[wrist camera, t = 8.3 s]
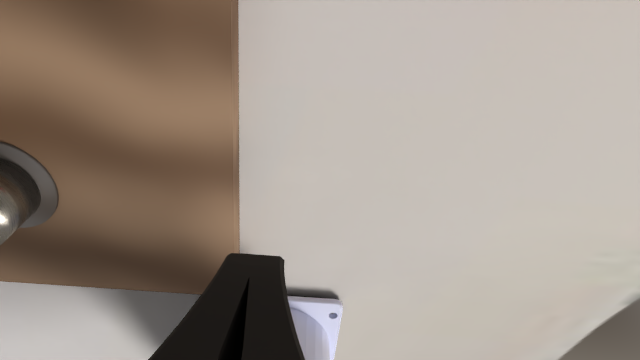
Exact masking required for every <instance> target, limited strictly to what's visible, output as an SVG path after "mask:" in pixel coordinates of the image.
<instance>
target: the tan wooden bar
mask: <svg viewBox="0 0 640 360" xmlns="http://www.w3.org/2000/svg"><path fill="white" fill-rule="evenodd" d="M40 203H41V195H40V191H39V188H38V186H37V184H36V183H35V181H34V180H33V179H32V177H31V176H30V175H29V174H28V173H27V172H26V171H24V170H23V169H22V168H20V167H19V166H17V165H16V164H14V163H12V162H10V161H7V160H5V159H2V158H0V245H1V244H2V243H4V242H5V241H6V240H7V239H8V238H9V237H10V236H11V235H12V234H13V233H14V232H15V231H16V230H17V229H18V228H19V227H20V226H21V225H22V224H23V223H24V222H25V221H26V220H28V219H29V218H30V217H31V216H32V215H33V214H34V213H35V212H36V211H37V209H38V208H39V206H40Z"/></svg>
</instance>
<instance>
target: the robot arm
mask: <svg viewBox="0 0 640 360" xmlns="http://www.w3.org/2000/svg"><path fill="white" fill-rule="evenodd" d="M342 311H343V306H342V302H341V301H339V300H337V299H327V298H312V297H297V296H287V291H286V285H285V277H284V260H283V259H282V258H281V257H280V256H267V255H253V254H239V253H230V254H229V255H227V256H226V258H225V260H224V261H223V263H222V265H221V266H220V268H219V270H218V271H217V273H216V274H215V276H214V277H213V279H212V280H211V282H210V283H209V285H208V286H207V288H206V289H205V290H204V292H203V293H202V295H201V296H200V297H199V299H198V300H197V301H196V303H195V304H194V305H193V307H192V308H191V309H190V311H189V312H188V313H187V314H186V316H185V317H184V318H183V320H182V321H181V322H180V323H179V325H178V326H177V327H176V328H175V329H174V330H173V332H172V333H171V334H170V335H169V336H168V338H167V339H166V340H165V341H164V342H163V343H162V345H161V346H160V347H159V348H158V349H157V351H156V352H155V353H154V354H153V355H152V356H151V357H150V358H149V359H148V360H334V356H335V350H336V345H337V339H338V334H339V328H340V322H341V317H342ZM332 313H334V314H332Z"/></svg>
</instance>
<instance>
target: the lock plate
mask: <svg viewBox="0 0 640 360" xmlns="http://www.w3.org/2000/svg"><path fill="white" fill-rule="evenodd" d="M0 158H2V159H5V160H7V161H10V162H12V163H14V164H16V165H17V166H19V167H20V168H22V169H23V170H24V171H26V172H27V173H28V174H29V175H30V176H31V177H32V179H33V180H34V181H35V183H36V184H37V186H38V188H39V191H40V195H41V203H40V206H39V208H38V209H37V211H36V212H35V213H34V214H33V215H32V216H31V217H30V218H29V219H28V220H26V221H25V222H24V223H23V224H22V225H21V226H20V227H19V228H18V229H17V230H16V231H15V232H14V233H13V234H12V235H11V236H10V237H9V238H8V239H7V240H6V241H5V242H4V243H2V244H1V245H0V281H6V282H21V283H36V284H51V285H66V286H81V287H96V288H111V289H126V290H141V291H156V292H171V293H186V294H201V295H202V293H203V292H204V290H205V289H206V288H207V286H208V285H209V283H210V282H211V280H212V279H213V277H214V276H215V274H216V273H217V271H218V270H219V268H220V266H221V265H222V263H223V261H224V260H225V258H226V256H227V255H229V254H230V253H239V65H238V0H0Z"/></svg>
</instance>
